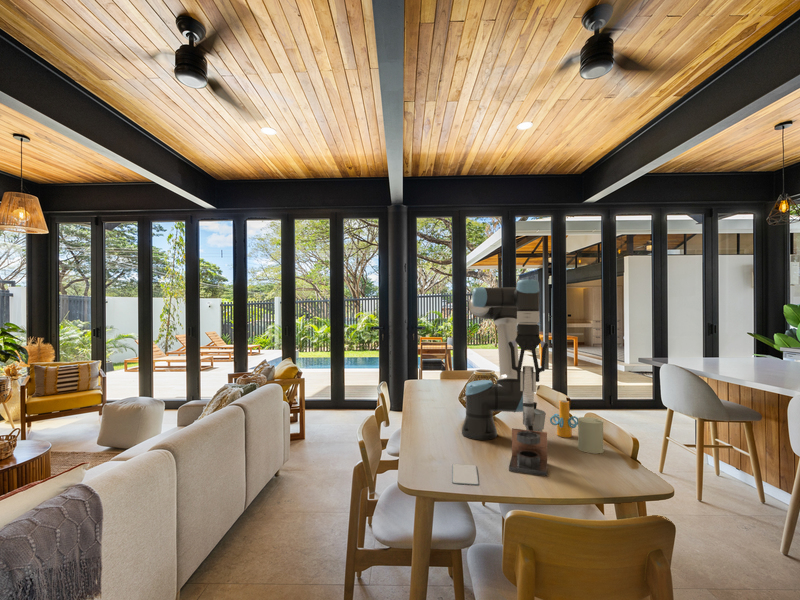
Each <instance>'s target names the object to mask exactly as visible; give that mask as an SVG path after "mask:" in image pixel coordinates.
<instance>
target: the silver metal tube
mask: <svg viewBox="0 0 800 600" xmlns="http://www.w3.org/2000/svg"><path fill="white" fill-rule="evenodd" d="M534 370H535V366H533V365H522V371H523V412H522V424H523V425H524V426H525V425H527V426H533V425H534V402H535V399H534V396H535V395H534V394H535V392H533V373H534V372H535V371H534Z"/></svg>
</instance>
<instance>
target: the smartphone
mask: <svg viewBox="0 0 800 600" xmlns="http://www.w3.org/2000/svg"><path fill="white" fill-rule="evenodd" d="M477 468H478V467H477V465H475V464H461V463H453V464H452V466H451V483H452V485H467V486H470V485H471V486H477V487H478V486H479V485H480V480H479V473H478V469H477Z"/></svg>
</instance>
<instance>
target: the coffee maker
mask: <svg viewBox="0 0 800 600" xmlns="http://www.w3.org/2000/svg"><path fill="white" fill-rule="evenodd" d="M537 405H538V403H537V402H536V401H534V425H533V426H527V425H524V426H525V430H532V431H541V432H544V431H543V430H544V429H545V423H546V414H547V413H546V411H545V410H543V409H539V408H537Z"/></svg>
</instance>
